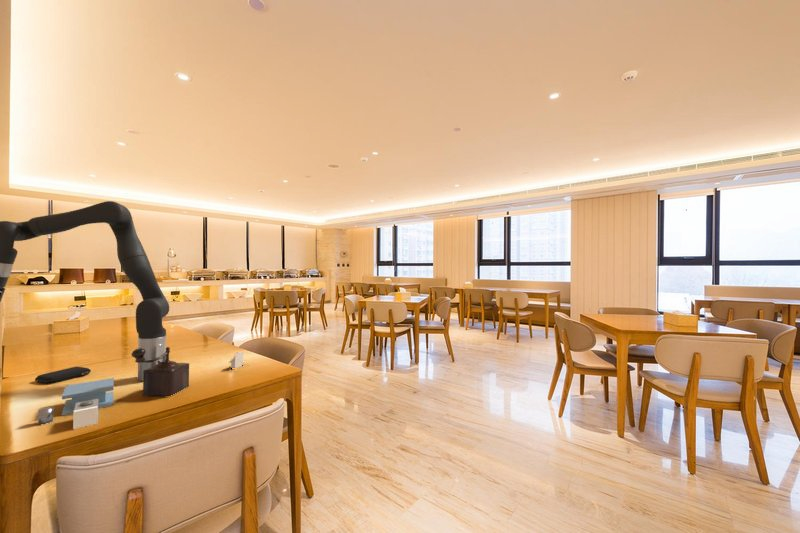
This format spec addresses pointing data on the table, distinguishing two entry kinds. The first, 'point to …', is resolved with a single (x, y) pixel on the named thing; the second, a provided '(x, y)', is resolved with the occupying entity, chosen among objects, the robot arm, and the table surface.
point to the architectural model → (237, 360)
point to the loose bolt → (45, 415)
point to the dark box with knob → (162, 375)
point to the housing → (85, 413)
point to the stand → (88, 394)
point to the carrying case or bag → (62, 375)
